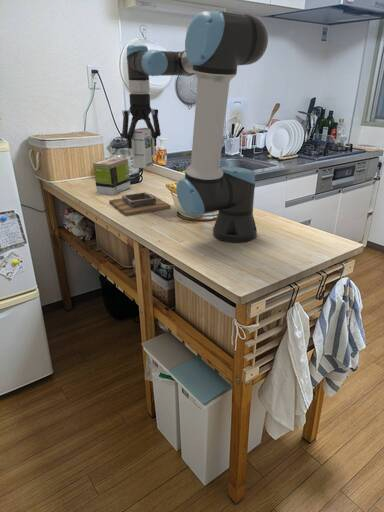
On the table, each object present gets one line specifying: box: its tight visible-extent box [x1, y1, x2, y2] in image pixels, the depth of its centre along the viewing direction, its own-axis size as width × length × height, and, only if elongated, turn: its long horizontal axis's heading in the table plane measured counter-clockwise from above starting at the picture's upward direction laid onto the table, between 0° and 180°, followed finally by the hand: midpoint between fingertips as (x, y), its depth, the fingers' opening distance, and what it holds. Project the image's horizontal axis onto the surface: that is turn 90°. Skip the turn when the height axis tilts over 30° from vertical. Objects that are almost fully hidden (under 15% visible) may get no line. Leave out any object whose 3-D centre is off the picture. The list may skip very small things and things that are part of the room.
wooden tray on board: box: [108, 191, 171, 217], centre depth 161 cm, size 20×20×4 cm
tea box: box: [92, 157, 132, 196], centre depth 182 cm, size 15×10×15 cm, turn 154°
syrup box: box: [132, 127, 154, 169], centre depth 147 cm, size 6×6×14 cm
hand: (142, 155), depth 148 cm, fingers closed on syrup box, 8 cm apart
